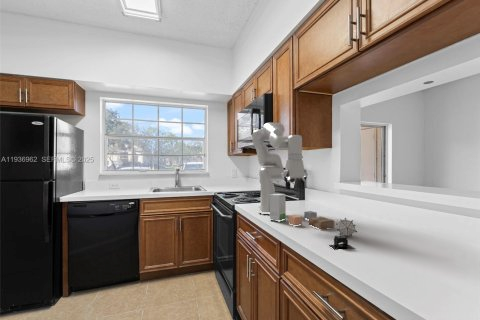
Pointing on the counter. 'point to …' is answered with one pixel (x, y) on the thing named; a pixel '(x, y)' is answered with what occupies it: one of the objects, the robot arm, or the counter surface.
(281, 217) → the skincare box
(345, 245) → the black bracket block
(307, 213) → the slate grey cube
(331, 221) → the walnut block
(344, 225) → the grey spiked ball
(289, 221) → the terracotta cube
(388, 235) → the counter surface
